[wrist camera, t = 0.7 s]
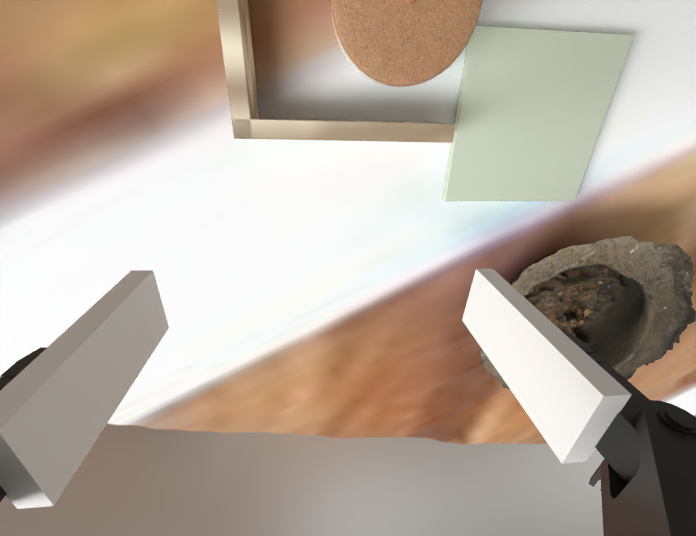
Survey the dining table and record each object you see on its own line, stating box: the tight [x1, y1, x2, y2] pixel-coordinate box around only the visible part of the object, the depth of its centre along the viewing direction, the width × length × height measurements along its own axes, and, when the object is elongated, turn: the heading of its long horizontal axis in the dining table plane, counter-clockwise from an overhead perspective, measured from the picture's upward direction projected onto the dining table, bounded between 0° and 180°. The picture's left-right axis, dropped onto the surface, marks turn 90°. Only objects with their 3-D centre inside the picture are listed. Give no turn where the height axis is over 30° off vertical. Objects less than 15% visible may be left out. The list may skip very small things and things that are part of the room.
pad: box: [442, 26, 635, 201], centre depth 33 cm, size 16×16×1 cm
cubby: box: [216, 0, 456, 143], centre depth 25 cm, size 19×20×5 cm
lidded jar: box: [331, 0, 482, 87], centre depth 24 cm, size 11×11×9 cm
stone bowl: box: [480, 236, 696, 389], centre depth 41 cm, size 25×25×9 cm
